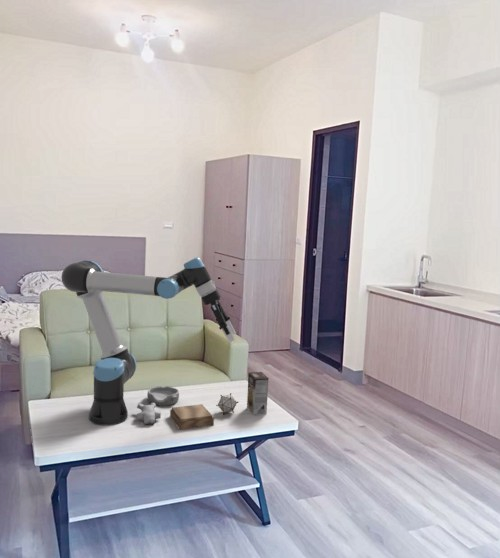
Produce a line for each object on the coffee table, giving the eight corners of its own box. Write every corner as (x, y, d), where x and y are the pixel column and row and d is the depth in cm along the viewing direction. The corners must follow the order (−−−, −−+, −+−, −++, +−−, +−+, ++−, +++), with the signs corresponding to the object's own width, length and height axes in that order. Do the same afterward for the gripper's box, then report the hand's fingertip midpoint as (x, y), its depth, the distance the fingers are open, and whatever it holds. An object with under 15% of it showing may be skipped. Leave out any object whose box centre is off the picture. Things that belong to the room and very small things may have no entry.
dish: (180, 406, 235) (180, 395, 235) (148, 407, 232) (148, 396, 231) (177, 394, 249) (177, 384, 249) (146, 396, 246) (146, 385, 245)
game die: (222, 421, 229) (208, 403, 228) (231, 409, 236) (218, 391, 235) (236, 416, 224) (222, 398, 222) (245, 404, 230) (232, 385, 229)
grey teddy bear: (137, 417, 211) (135, 399, 225) (137, 428, 212) (134, 410, 226) (162, 415, 213) (157, 398, 227) (161, 427, 215) (157, 409, 229)
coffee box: (246, 407, 236) (247, 372, 234) (260, 406, 238) (261, 371, 236) (252, 415, 228) (254, 378, 226) (267, 414, 230) (268, 377, 228)
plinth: (179, 429, 210) (180, 419, 209) (170, 416, 223) (170, 407, 222) (213, 425, 216) (214, 415, 215) (202, 412, 228) (202, 403, 228)
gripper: (214, 292, 210) (240, 339, 211) (218, 285, 234) (241, 328, 236) (197, 300, 210) (223, 348, 211) (203, 293, 235) (226, 336, 236)
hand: (232, 338), depth 224 cm, fingers open, 13 cm apart
